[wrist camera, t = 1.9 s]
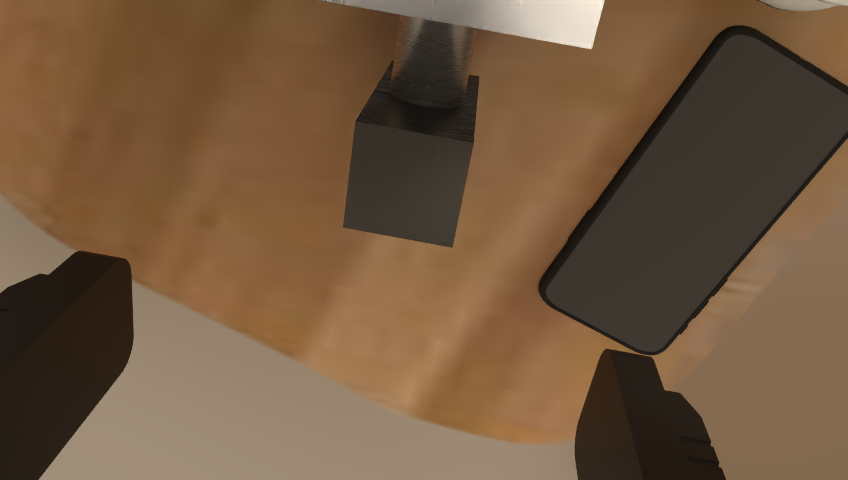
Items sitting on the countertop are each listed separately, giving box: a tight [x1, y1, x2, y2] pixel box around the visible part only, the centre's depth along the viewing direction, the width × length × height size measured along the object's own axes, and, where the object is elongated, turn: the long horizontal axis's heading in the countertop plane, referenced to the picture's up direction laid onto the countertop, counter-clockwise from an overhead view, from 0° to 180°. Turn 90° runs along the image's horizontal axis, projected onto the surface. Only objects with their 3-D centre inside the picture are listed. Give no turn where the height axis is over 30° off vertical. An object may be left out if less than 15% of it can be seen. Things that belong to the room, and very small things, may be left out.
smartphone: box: [539, 26, 848, 355], centre depth 31 cm, size 7×1×15 cm
